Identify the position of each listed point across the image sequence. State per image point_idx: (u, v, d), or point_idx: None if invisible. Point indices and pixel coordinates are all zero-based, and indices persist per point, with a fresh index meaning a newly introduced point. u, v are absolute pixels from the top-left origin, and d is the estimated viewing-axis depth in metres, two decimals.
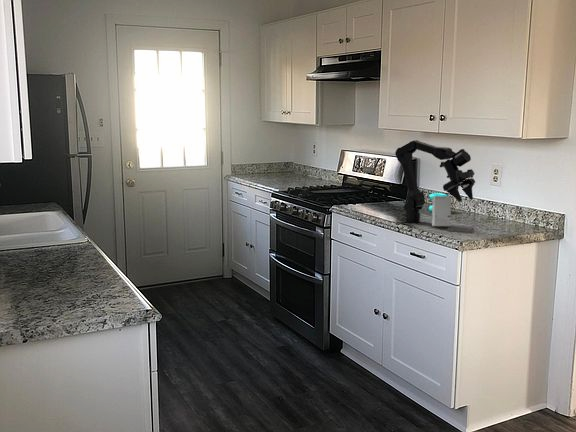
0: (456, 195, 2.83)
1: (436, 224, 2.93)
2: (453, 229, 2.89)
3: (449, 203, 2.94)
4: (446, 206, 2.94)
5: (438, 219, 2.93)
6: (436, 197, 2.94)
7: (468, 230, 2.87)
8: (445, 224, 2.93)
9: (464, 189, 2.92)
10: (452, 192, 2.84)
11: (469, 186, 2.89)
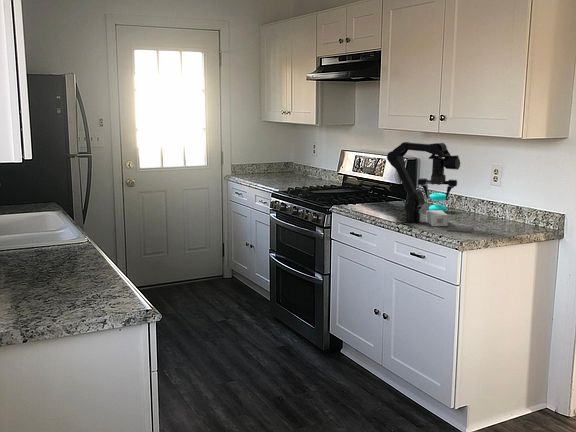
0: None
1: (434, 215, 2.98)
2: (453, 229, 2.89)
3: (441, 211, 3.08)
4: (440, 211, 3.07)
5: (434, 214, 3.01)
6: (428, 210, 3.11)
7: (468, 230, 2.87)
8: (442, 214, 2.98)
9: None
10: None
11: (447, 187, 2.97)
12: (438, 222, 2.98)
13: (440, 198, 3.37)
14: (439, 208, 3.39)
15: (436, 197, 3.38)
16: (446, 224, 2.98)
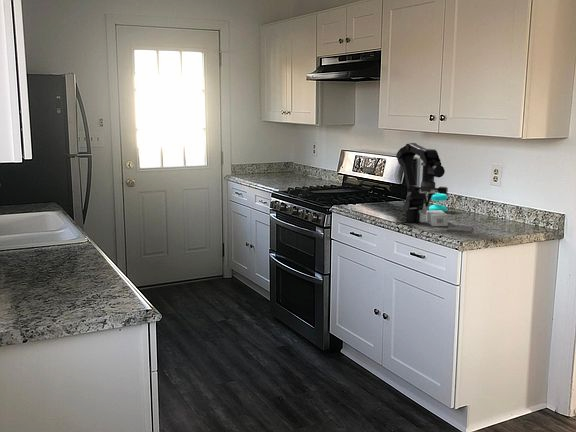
0: (424, 200, 2.97)
1: (434, 215, 2.98)
2: (453, 229, 2.89)
3: (441, 211, 3.08)
4: (440, 211, 3.07)
5: (434, 214, 3.01)
6: (428, 210, 3.11)
7: (468, 230, 2.87)
8: (442, 214, 2.98)
9: None
10: None
11: (428, 194, 2.94)
12: (438, 222, 2.98)
13: (440, 198, 3.37)
14: (439, 208, 3.39)
15: (436, 197, 3.38)
16: (446, 224, 2.98)
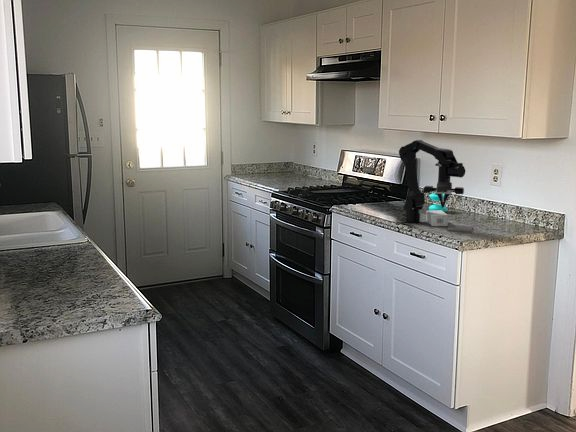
0: (440, 200, 2.94)
1: (434, 215, 2.98)
2: (453, 229, 2.89)
3: (441, 211, 3.08)
4: (440, 211, 3.07)
5: (434, 214, 3.01)
6: (428, 210, 3.11)
7: (468, 230, 2.87)
8: (442, 214, 2.98)
9: None
10: None
11: (444, 195, 2.91)
12: (438, 222, 2.98)
13: None
14: (439, 208, 3.39)
15: (436, 197, 3.38)
16: (446, 224, 2.98)
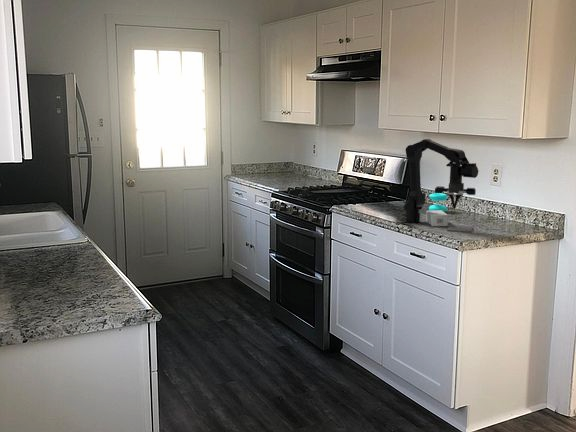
0: None
1: (434, 215, 2.98)
2: (453, 229, 2.89)
3: (441, 211, 3.08)
4: (440, 211, 3.07)
5: (434, 214, 3.01)
6: (428, 210, 3.11)
7: (468, 230, 2.87)
8: (442, 214, 2.98)
9: None
10: None
11: (456, 196, 2.89)
12: (438, 222, 2.98)
13: (440, 198, 3.37)
14: (439, 208, 3.39)
15: (436, 197, 3.38)
16: (446, 224, 2.98)
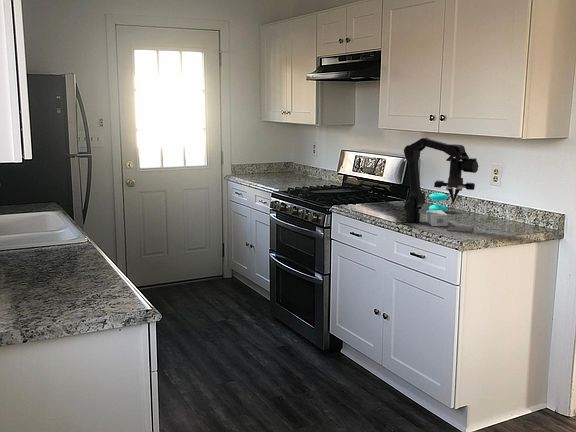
0: (451, 195, 2.94)
1: (434, 215, 2.98)
2: (453, 229, 2.89)
3: (441, 211, 3.08)
4: (440, 211, 3.07)
5: (434, 214, 3.01)
6: (428, 210, 3.11)
7: (468, 230, 2.87)
8: (442, 214, 2.98)
9: None
10: None
11: (455, 190, 2.91)
12: (438, 222, 2.98)
13: (440, 198, 3.37)
14: (439, 208, 3.39)
15: (436, 197, 3.38)
16: (446, 224, 2.98)
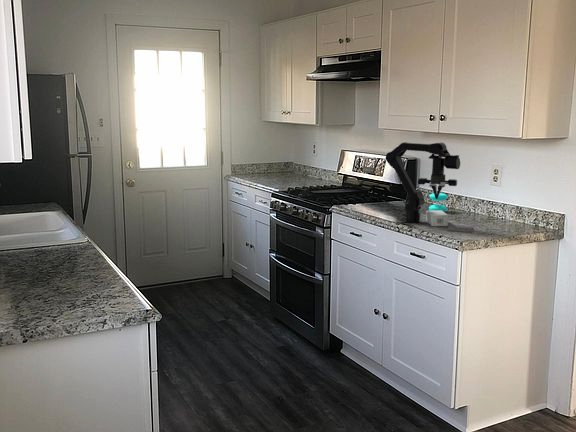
0: (434, 192, 3.02)
1: (434, 215, 2.98)
2: (453, 229, 2.89)
3: (441, 211, 3.08)
4: (440, 211, 3.07)
5: (434, 214, 3.01)
6: (428, 210, 3.11)
7: (468, 230, 2.87)
8: (442, 214, 2.98)
9: None
10: None
11: (438, 187, 3.00)
12: (438, 222, 2.98)
13: (440, 198, 3.37)
14: (439, 208, 3.39)
15: None
16: (446, 224, 2.98)
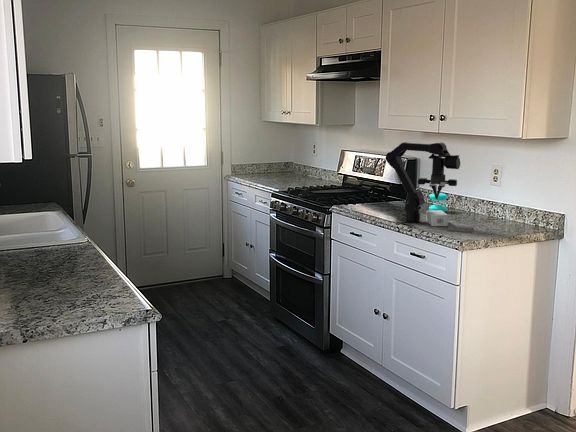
0: (434, 192, 3.02)
1: (434, 215, 2.98)
2: (453, 229, 2.89)
3: (441, 211, 3.08)
4: (440, 211, 3.07)
5: (434, 214, 3.01)
6: (428, 210, 3.11)
7: (468, 230, 2.87)
8: (442, 214, 2.98)
9: None
10: None
11: (438, 187, 3.00)
12: (438, 222, 2.98)
13: (440, 198, 3.37)
14: (439, 208, 3.39)
15: None
16: (446, 224, 2.98)
